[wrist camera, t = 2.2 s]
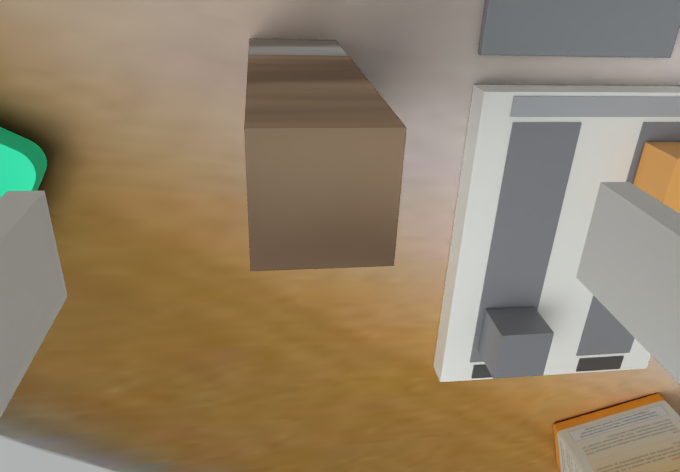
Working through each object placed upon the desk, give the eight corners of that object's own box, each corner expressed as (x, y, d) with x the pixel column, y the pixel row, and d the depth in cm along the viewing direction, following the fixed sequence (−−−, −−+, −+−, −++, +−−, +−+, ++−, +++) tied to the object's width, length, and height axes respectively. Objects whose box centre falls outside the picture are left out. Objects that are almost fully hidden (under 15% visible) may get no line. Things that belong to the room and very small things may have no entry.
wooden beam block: (249, 38, 26) (244, 128, 14) (335, 40, 26) (406, 127, 14) (252, 124, 28) (250, 271, 15) (333, 124, 28) (393, 265, 16)
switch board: (473, 84, 28) (484, 92, 27) (725, 86, 30) (748, 93, 29) (433, 366, 37) (440, 383, 35) (633, 353, 38) (647, 369, 37)
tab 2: (645, 142, 29) (676, 158, 27) (697, 141, 30) (733, 158, 27) (629, 195, 30) (658, 215, 28) (680, 194, 31) (712, 214, 29)
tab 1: (485, 309, 33) (501, 335, 31) (534, 307, 33) (554, 332, 31) (477, 350, 34) (493, 378, 32) (524, 347, 35) (543, 375, 32)
